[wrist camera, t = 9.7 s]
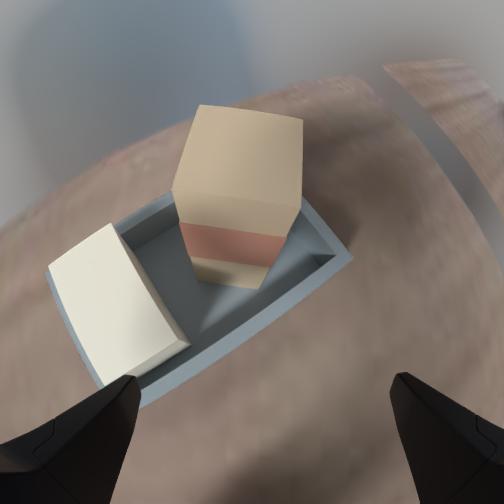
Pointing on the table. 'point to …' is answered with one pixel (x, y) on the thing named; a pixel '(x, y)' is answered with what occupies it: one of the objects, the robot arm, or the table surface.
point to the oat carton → (238, 192)
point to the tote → (217, 289)
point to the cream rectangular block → (115, 307)
